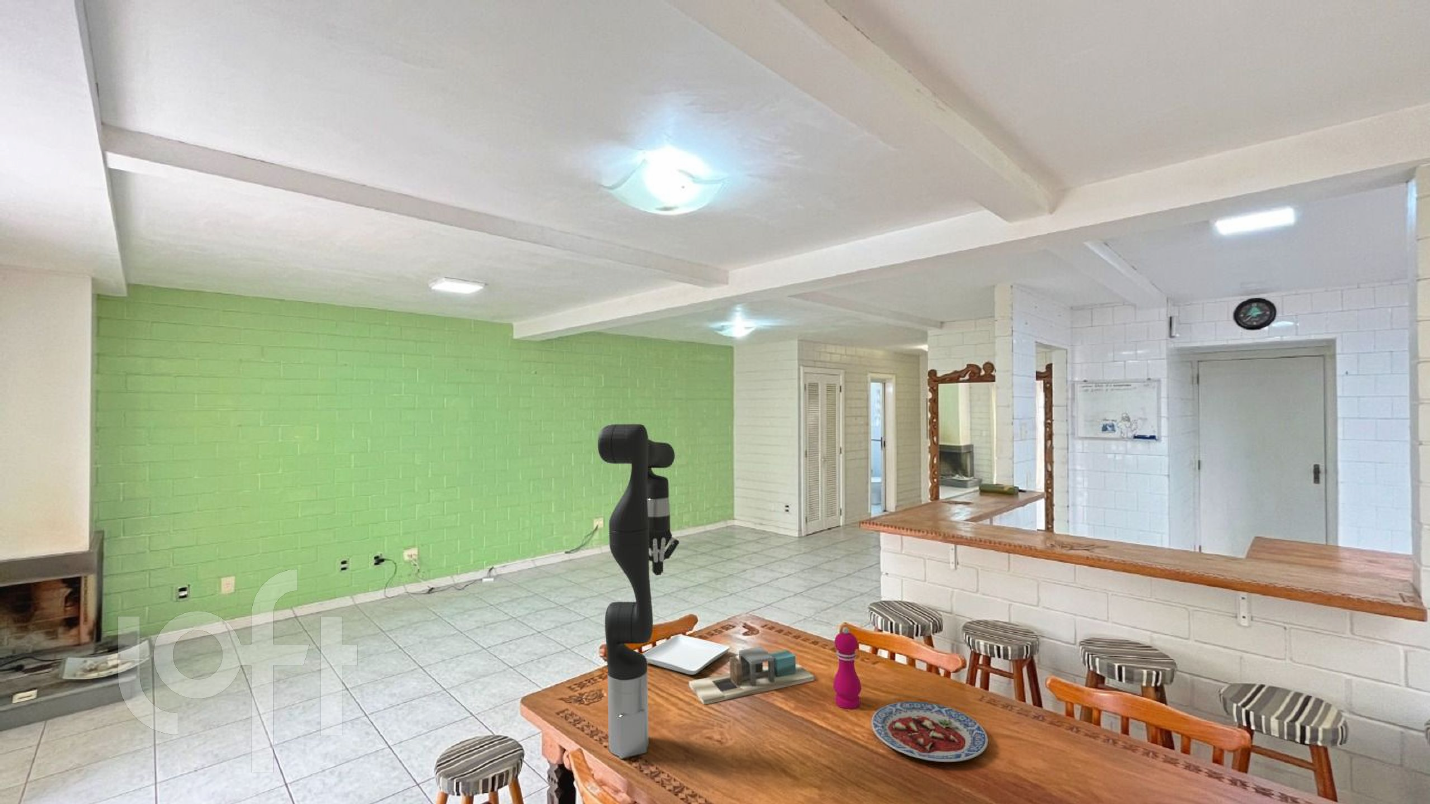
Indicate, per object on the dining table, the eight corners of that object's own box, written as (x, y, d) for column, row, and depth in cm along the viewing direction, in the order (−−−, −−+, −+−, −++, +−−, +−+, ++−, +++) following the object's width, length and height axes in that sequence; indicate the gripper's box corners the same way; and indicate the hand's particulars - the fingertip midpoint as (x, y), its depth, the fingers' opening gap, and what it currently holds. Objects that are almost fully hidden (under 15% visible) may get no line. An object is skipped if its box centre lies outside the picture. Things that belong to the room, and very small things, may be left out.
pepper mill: (859, 697, 158) (857, 622, 158) (863, 710, 151) (861, 632, 151) (832, 696, 158) (830, 622, 159) (835, 709, 151) (833, 632, 152)
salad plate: (732, 655, 188) (731, 644, 188) (695, 682, 170) (695, 670, 170) (678, 643, 199) (678, 633, 199) (638, 666, 181) (638, 655, 181)
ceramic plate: (912, 780, 122) (912, 765, 122) (852, 719, 147) (851, 707, 147) (1014, 758, 129) (1014, 745, 129) (940, 703, 154) (939, 692, 154)
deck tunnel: (814, 680, 168) (813, 652, 168) (703, 704, 155) (703, 674, 156) (793, 664, 179) (792, 638, 179) (689, 685, 166) (688, 657, 167)
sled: (795, 673, 170) (795, 652, 170) (736, 685, 163) (736, 663, 163) (787, 666, 174) (787, 646, 175) (730, 678, 167) (729, 657, 168)
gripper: (637, 517, 161) (638, 580, 160) (683, 513, 165) (684, 575, 165) (630, 513, 167) (631, 574, 167) (674, 509, 172) (675, 568, 172)
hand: (657, 574), depth 166 cm, fingers closed
